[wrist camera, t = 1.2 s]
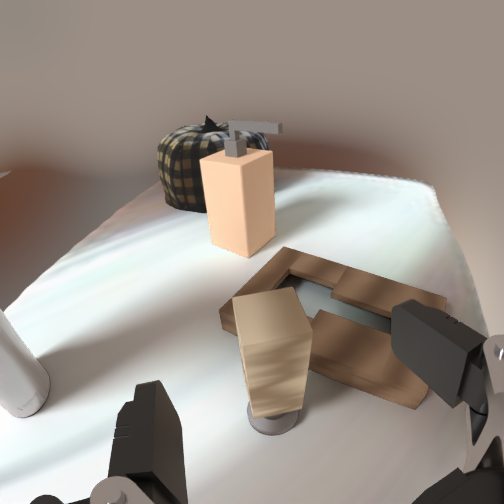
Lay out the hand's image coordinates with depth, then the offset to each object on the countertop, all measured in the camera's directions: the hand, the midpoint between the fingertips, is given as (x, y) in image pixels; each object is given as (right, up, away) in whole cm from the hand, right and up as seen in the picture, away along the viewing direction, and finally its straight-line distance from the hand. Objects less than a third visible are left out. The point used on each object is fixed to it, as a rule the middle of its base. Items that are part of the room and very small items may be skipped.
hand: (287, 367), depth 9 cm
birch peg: (+1, -13, +19) cm, 23 cm away
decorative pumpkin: (-10, +20, +69) cm, 73 cm away
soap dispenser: (-1, +5, +46) cm, 47 cm away
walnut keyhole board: (+10, -6, +29) cm, 31 cm away
